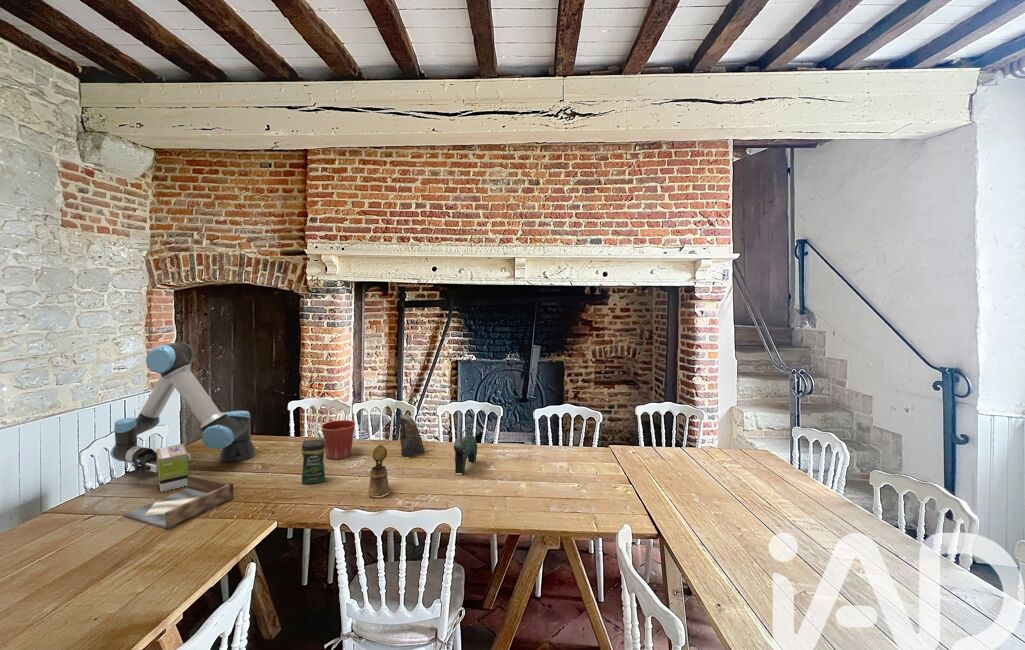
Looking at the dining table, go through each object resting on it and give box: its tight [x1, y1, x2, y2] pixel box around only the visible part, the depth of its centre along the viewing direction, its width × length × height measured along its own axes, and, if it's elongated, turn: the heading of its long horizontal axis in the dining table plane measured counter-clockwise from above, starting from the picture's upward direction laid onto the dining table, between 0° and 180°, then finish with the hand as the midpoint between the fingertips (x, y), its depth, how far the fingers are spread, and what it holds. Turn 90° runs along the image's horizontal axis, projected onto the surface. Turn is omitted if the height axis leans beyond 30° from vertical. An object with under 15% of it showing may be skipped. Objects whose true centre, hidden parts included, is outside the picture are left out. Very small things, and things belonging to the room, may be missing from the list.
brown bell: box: [367, 444, 391, 497], centre depth 188 cm, size 9×14×18 cm, turn 13°
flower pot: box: [320, 419, 356, 460], centre depth 226 cm, size 16×16×16 cm
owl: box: [398, 412, 425, 458], centre depth 231 cm, size 13×13×20 cm
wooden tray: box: [123, 474, 234, 530], centre depth 172 cm, size 25×24×6 cm
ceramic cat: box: [453, 428, 478, 474], centre depth 213 cm, size 20×6×20 cm, turn 161°
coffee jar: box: [301, 438, 326, 485], centre depth 196 cm, size 10×8×19 cm
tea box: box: [155, 443, 190, 493], centre depth 191 cm, size 15×10×15 cm
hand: (173, 462), depth 193 cm, fingers open, 13 cm apart
